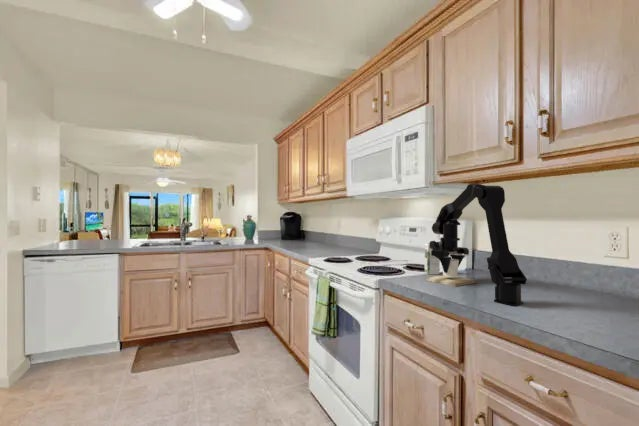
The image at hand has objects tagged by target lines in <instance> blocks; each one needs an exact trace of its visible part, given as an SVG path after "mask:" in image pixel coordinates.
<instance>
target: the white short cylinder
mask: <svg viewBox="0 0 639 426" xmlns="http://www.w3.org/2000/svg"><path fill="white" fill-rule="evenodd" d="M458 263H459V260H458V259H452V257H451V260H450V264H449V268H448V271H447V273H445V272H444V270H443V267H442V275H444V276H448V277H456V276H458V274H459V273H458V271H459V267H458Z"/></svg>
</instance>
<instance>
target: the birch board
mask: <svg viewBox="0 0 639 426" xmlns="http://www.w3.org/2000/svg"><path fill="white" fill-rule="evenodd" d="M425 280H426V281H428V282H431V281H432V283H436V284H440V285H445V286H451V287H455V288H456V287H459V286H466V285H470V284H474V283H476V279H473V278H468V277H462V276H458V275H457V276H456V277H448V276H444V275H443V274H438V275H434V276H429V277H425Z"/></svg>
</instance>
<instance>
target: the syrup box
mask: <svg viewBox="0 0 639 426" xmlns="http://www.w3.org/2000/svg"><path fill="white" fill-rule="evenodd" d="M431 251H432V249H431V248H430V242H426V243H424V273H426V274H427V275H440V268H441V267H440V266H441V265H440V263H441V262H440V260H439V259H438V258H437V257H435V256H431Z"/></svg>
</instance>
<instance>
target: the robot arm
mask: <svg viewBox="0 0 639 426" xmlns="http://www.w3.org/2000/svg"><path fill="white" fill-rule="evenodd" d="M505 196H506V195H505V190H504V188H503V187H502V186H501V185H490V184H489V185H485V184H481V183H469V184H467V186H466V188H465V189H464V190H463V191H462V192H461V193H460V194H459V195H458V197H456V198H455V199H454V200H453V201H452V202H450V203H446V204H445V205H443V206H442V207H441V209H440V211H439V213H438V215H437V217H436V220H435V222H434V223H433V224H432V226H431V231H432V232H433V234H435V235H442V237H440V239H439V240H440V241H436V240H431V241H430V242H429V243H430V248H431V249H432V251H431V256H435V257H437V258H438V259H439V260H440V263H441V266H442V267H443V268H442V271H443V270H444V272H445V273H447V271H448V268H449V264H450V260H451V258H452V259H458V260H459V263H458V268H459V267H460V265H461V263H462V261H463V259H464V258H465V257H466V255H469V254H470V251H469V248H467V247H463V246H459V245H458V241H461V240H460V239H461V238H460V237H458V236H459V235H458V232H459V231H458V229H459V227H458V226H460V225H461V222H460V221H459V219H460V217H462V215H463V210H464V209H465V208H466V207H468V206H469V204H470V203H472V202H473V201H474V199H476V198H477V203H478V204H479V206H480V207H481V208H482V209H483V211H485V216H486V218H485V219H486V223H487V228H488V234H489V241H490V245H491V246H490V247H491V254H490V256H489V257H487V258H486V262H487V270H489V275H490V278H491V282H492V283H493V284H495V286H494V299H493V302H496V303H499V304H504V305H509V306H515V307H516V306H519V305H521V304H524V301H523V300H522V285H526V283H527V277H526V275H525V273H524V272H523V270H522V269H520V265H519V263H518V261H517V258H516V256H515V255H514V254H513V253H512V252H511V251H510V249H509V243H508V242H509V241H508V237H507V231H506V227H505V221H504V216H503V211H502V210H503V206H504V205H505V202H506V197H505Z"/></svg>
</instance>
